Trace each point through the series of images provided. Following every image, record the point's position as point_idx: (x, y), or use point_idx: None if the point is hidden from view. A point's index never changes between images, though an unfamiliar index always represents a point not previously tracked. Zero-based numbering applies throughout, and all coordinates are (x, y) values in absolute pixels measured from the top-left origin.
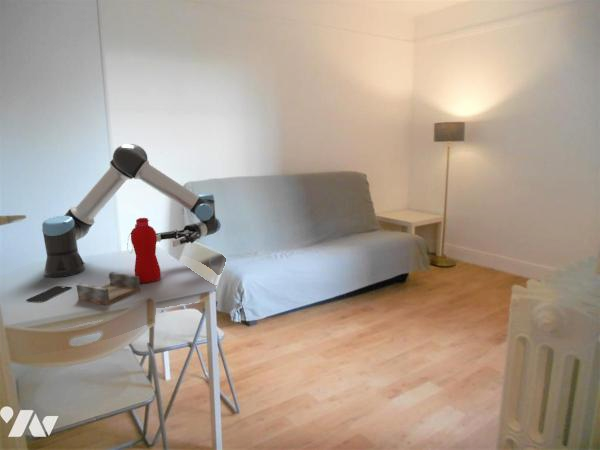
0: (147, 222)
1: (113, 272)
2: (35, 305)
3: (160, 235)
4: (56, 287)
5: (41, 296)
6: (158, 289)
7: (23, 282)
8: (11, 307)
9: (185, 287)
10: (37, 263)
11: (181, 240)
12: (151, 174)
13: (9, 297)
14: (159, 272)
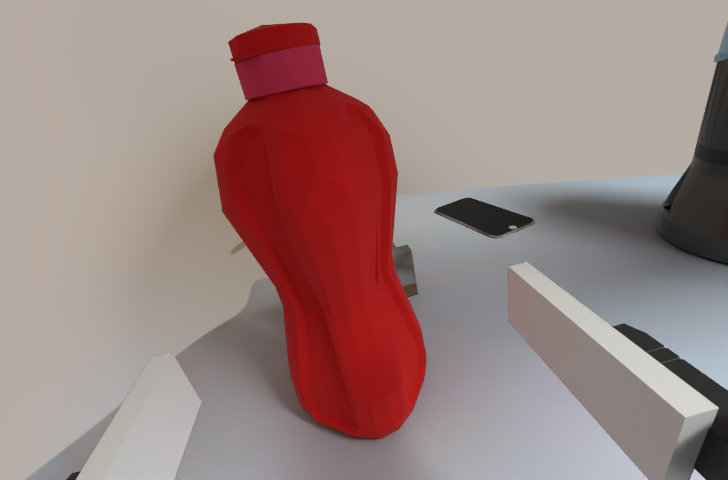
0: (238, 74)
1: (401, 252)
2: (427, 207)
3: (678, 430)
4: (524, 220)
5: (471, 208)
6: (237, 362)
7: (642, 189)
8: (450, 192)
9: None
10: None
11: (77, 472)
12: None
13: (518, 187)
14: (295, 388)
